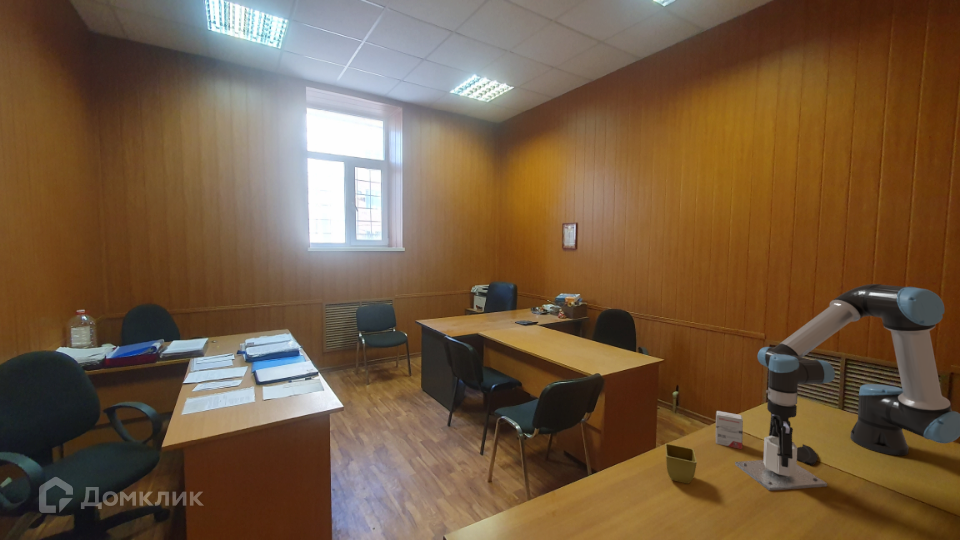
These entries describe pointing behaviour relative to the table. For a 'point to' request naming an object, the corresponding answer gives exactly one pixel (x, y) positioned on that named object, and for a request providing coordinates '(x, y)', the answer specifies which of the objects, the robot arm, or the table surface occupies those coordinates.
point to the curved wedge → (806, 455)
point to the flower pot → (680, 463)
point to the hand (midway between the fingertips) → (779, 467)
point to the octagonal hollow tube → (772, 458)
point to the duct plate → (779, 477)
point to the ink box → (729, 429)
